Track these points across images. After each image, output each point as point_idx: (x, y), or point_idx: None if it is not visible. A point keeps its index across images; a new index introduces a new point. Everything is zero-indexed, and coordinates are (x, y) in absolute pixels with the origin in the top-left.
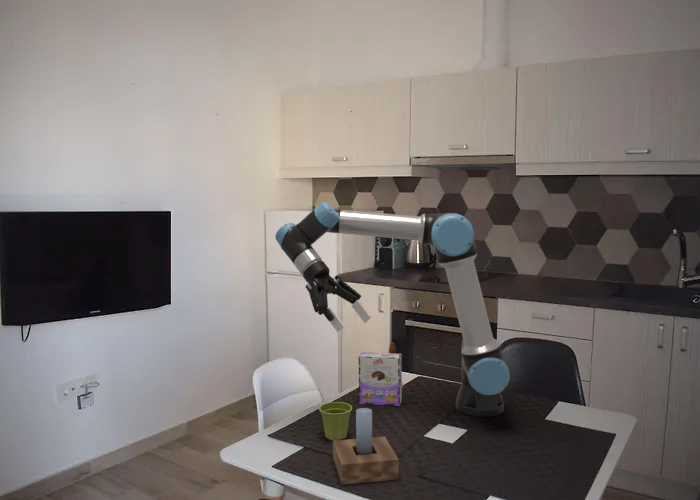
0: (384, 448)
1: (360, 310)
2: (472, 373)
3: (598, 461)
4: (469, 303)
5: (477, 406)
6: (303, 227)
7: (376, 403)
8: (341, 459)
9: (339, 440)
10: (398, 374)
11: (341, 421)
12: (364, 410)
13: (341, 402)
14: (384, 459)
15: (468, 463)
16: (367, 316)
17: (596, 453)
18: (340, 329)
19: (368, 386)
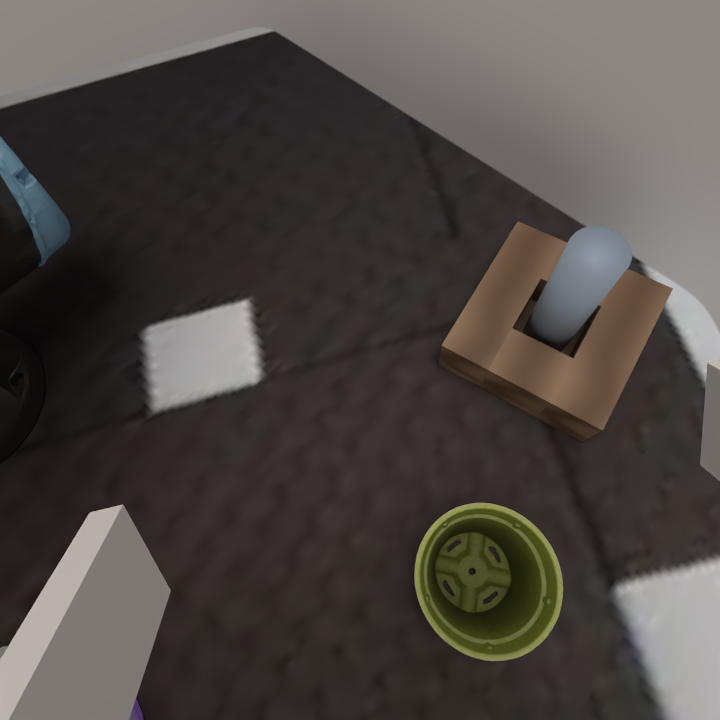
0: (501, 288)
1: (77, 705)
2: (43, 191)
3: (132, 76)
4: None
5: (16, 356)
6: None
7: (137, 707)
8: (654, 312)
9: (581, 417)
10: (6, 645)
11: (492, 521)
12: (595, 254)
13: (426, 611)
14: (548, 242)
15: (319, 209)
16: (120, 548)
17: (97, 93)
18: (707, 431)
19: None
